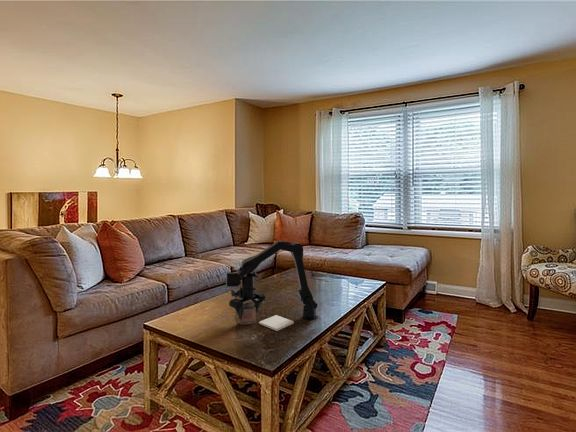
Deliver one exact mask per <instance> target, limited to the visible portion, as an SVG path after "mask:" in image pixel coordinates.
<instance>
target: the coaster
mask: <svg viewBox="0 0 576 432" xmlns="http://www.w3.org/2000/svg"><path fill="white" fill-rule="evenodd" d="M294 322H295V321H293V320H291V319H289V318H285V317H283V316H280V315H278V314H275V315H273V316H269V317H268V318H266V319H265V318H264V319H262V320H260V321H259V322H258V325H261V326H264V327H266V328H269V329H271V330H274V331H276V332H278V331H280V330H283V329H285V328H286V327H289V326H292V325H294V324H295V323H294Z"/></svg>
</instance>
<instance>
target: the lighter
mask: <svg viewBox="0 0 576 432" xmlns="http://www.w3.org/2000/svg"><path fill="white" fill-rule="evenodd" d="M253 306H254V303H253V302H245V303H243V306H242V307H244V309H243V315H242V319H241V320H240V319H239V325H253V324H256V323H257V319H256V314H255V310H256V307H253Z"/></svg>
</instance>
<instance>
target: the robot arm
mask: <svg viewBox="0 0 576 432" xmlns="http://www.w3.org/2000/svg"><path fill="white" fill-rule="evenodd" d="M281 250H283V251H284V252H285V251H286V252H289V253H290V254H291V256H292V259H293V261H294V265H295V271H296V276H297V279H298V280H297V281H298V285H299V288H298V289H296V294H297V298H298V300H299V301H300V302H302V304H303V310H302V315H301V316H300V318H301V319H305V320H307V321H309V322H311V321H314V320H315V319H318V318H319V316H318V315H316V311H317V309H318V305H319V304H318V303H317V302H316V301H315V299H314V297H313V294H312V292H311V290H310V287H309V285H308V280H307V275H306V270H305V265H304V247H303V245H302V244H301V243H299V242H297V241H292V242H290V241H283V240H276V241H275V242H273V244H271V245H269V246H268V247H266V248H265V249H264V250H262V251H260V252H259V253H258V254H256V255H252V256H250V257H247V258H245V259H243V260H242V262H241V265H240V267H239V268H238V270H237V271H236V272H226V278H225V283H226V287H227V288H233V287H235V289H232V290H230V291H231V294H230V295H231V297H233V299H230V300H229V302H228V306H229V307H231V308H233V309H234V310H235V311H236V313H237V316H238V319H239V321H240V320H241V319H242V315H243V309H244V307H242V306H243V304H245V303H249V302H251V301H252V303H254V306H252V307H256V310H255V315H257V312H258V310H259V308H260V307H261V305H262V303H263V302H264V301H265V300H266V295H265V293H264V292H261V291H256V287H254V286H255V282H254V280H255V278H258V277H259V275H258V274H257V273H256V272H255V270H256V269H257V268H258V267H259V266H260V264H262V262H264V261H266V260H268V258H270V257H272V256H273V255H275V254H277V252H279V251H281ZM240 285H241V286H240ZM239 286H240V287H239ZM237 287H239V289H236V288H237ZM254 291H256V292H254Z"/></svg>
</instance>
